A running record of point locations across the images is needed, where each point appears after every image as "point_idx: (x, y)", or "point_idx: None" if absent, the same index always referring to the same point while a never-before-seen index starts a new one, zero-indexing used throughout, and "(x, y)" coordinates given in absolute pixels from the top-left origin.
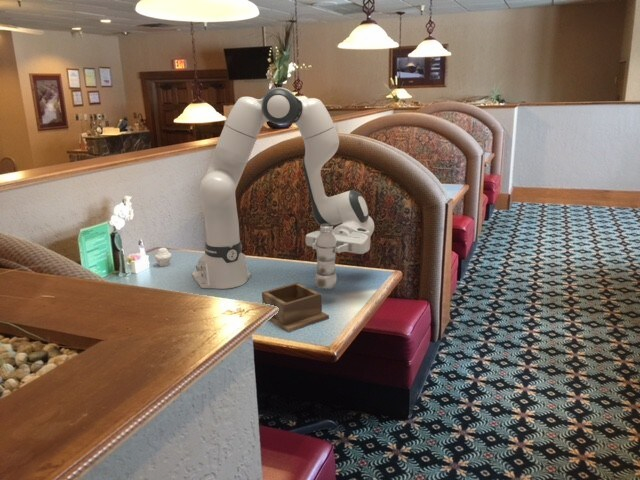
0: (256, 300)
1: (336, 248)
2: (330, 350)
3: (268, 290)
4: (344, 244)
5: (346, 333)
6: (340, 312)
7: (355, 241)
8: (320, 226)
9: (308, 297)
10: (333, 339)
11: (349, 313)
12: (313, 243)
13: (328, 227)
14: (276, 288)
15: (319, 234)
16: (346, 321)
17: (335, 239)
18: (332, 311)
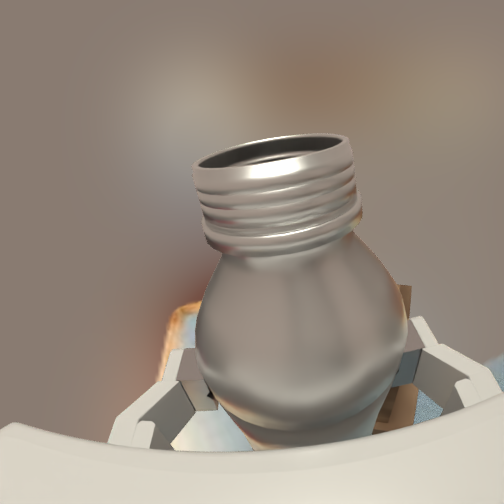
0: (489, 369)
1: (193, 348)
2: (178, 308)
3: (410, 298)
4: (141, 421)
5: (165, 359)
6: (218, 446)
7: (35, 444)
8: (325, 143)
9: None
10: (185, 333)
11: (189, 450)
12: (422, 319)
13: (224, 156)
14: (407, 316)
15: (361, 240)
16: None
17: (197, 323)
18: (246, 442)
